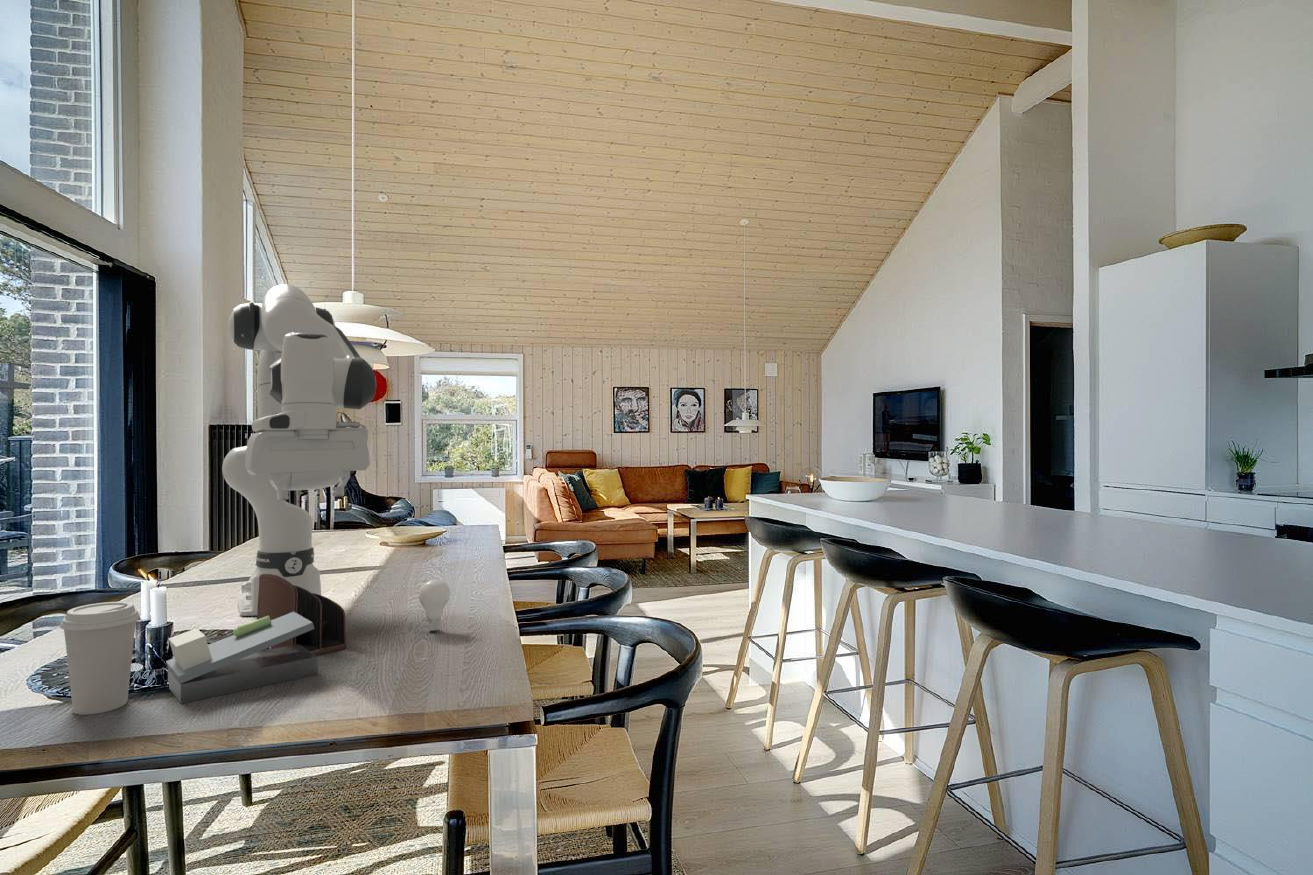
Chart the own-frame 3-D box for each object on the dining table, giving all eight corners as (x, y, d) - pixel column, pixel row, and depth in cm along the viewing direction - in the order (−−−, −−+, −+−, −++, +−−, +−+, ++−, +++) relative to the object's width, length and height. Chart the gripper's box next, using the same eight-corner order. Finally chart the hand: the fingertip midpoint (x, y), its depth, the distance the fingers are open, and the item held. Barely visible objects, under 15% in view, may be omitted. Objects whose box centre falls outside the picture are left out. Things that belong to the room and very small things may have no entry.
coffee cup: (74, 724, 100) (75, 619, 100) (48, 709, 105) (49, 609, 105) (151, 702, 108) (151, 605, 108) (123, 690, 114) (123, 597, 113)
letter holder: (292, 661, 129) (292, 584, 129) (255, 639, 143) (256, 569, 143) (346, 649, 137) (347, 577, 136) (307, 629, 150) (307, 563, 150)
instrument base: (167, 686, 115) (167, 668, 115) (298, 660, 129) (298, 643, 129) (180, 703, 108) (180, 684, 108) (317, 673, 122) (317, 656, 122)
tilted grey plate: (167, 667, 115) (158, 638, 114) (295, 617, 129) (288, 591, 128) (180, 683, 108) (171, 652, 107) (314, 628, 122) (306, 600, 121)
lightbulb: (411, 633, 147) (412, 581, 147) (432, 626, 153) (432, 575, 153) (436, 637, 145) (436, 583, 145) (456, 629, 151) (456, 577, 150)
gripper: (360, 422, 136) (362, 494, 136) (241, 421, 122) (243, 501, 121) (374, 420, 132) (376, 494, 131) (252, 419, 117) (253, 502, 117)
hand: (311, 498), depth 126 cm, fingers open, 8 cm apart
